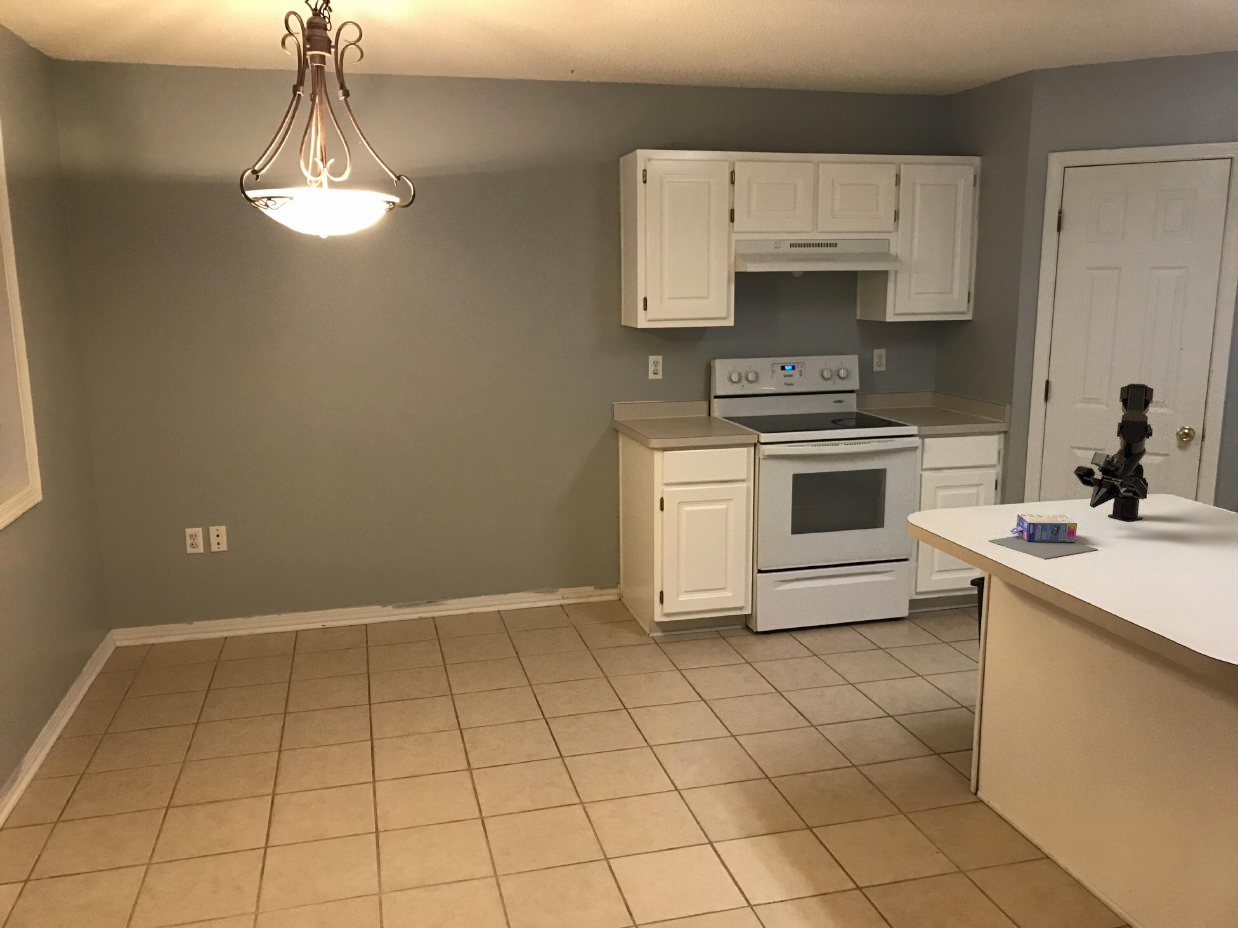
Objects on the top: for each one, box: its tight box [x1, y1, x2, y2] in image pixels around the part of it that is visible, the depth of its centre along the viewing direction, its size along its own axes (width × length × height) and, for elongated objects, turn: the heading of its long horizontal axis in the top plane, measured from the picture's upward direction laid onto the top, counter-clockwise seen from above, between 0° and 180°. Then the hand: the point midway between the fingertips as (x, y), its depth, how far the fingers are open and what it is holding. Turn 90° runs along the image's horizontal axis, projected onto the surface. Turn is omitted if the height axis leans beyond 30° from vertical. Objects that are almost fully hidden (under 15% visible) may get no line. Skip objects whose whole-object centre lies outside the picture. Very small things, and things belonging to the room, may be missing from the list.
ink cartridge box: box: [1009, 513, 1078, 543], centre depth 255 cm, size 10×6×14 cm
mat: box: [988, 534, 1099, 560], centre depth 249 cm, size 18×18×1 cm
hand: (1091, 506), depth 255 cm, fingers closed
